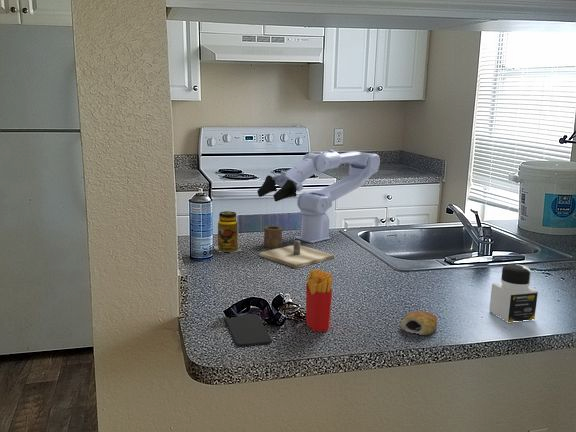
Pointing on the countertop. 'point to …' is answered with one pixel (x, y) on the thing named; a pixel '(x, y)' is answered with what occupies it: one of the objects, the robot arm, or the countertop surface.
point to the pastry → (419, 323)
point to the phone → (248, 330)
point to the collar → (272, 236)
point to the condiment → (227, 232)
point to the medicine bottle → (514, 294)
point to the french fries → (318, 300)
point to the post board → (296, 255)
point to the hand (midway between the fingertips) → (266, 196)
